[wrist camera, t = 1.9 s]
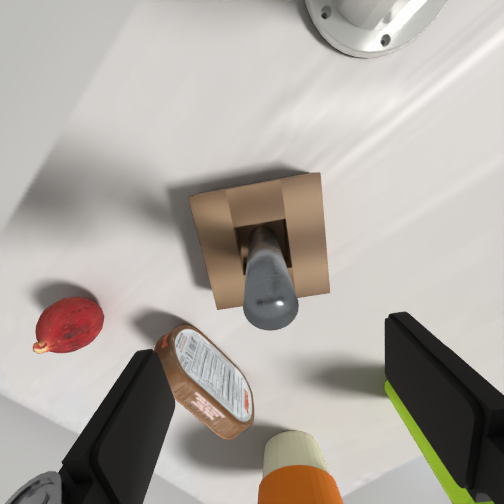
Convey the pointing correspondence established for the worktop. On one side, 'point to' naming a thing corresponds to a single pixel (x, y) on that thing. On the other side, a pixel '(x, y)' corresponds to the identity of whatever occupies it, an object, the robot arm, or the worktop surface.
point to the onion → (68, 325)
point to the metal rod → (268, 283)
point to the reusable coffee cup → (296, 472)
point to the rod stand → (263, 214)
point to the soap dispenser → (430, 453)
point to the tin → (206, 381)
